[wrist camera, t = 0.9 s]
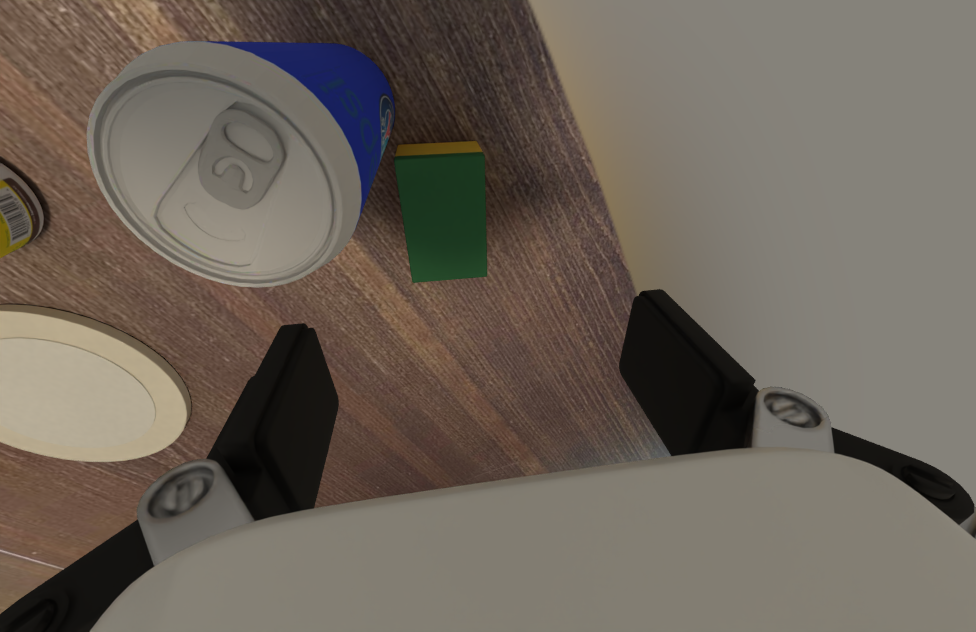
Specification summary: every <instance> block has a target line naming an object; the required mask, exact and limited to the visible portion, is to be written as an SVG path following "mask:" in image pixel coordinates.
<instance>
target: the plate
mask: <svg viewBox="0 0 976 632" xmlns="http://www.w3.org/2000/svg"><path fill="white" fill-rule="evenodd" d="M190 415H191V399H190V395H189V392H188V390H187V387H186V386H185V384H184V382H183V380H182V379H181V377H180V376H179V375H178V373H177V372H176V371H175V370H174V369H173V368H172V367H171V366H170V365H169V364H168V362H167V361H166V360H164V359H163V358H162V357H161V356H160V355H158V354H157V353H156V352H155V351H153V350H152V349H150V348H149V347H147V346H146V345H145V344H143V343H142V342H140V341H138V340H137V339H135V338H133V337H131V336H129V335H128V334H126V333H124V332H122V331H120V330H117V329H115V328H113V327H111V326H109V325H106V324H104V323H101V322H98V321H96V320H93V319H90V318H87V317H84V316H80V315H77V314H74V313H70V312H66V311H61V310H56V309H52V308H45V307H38V306H31V305H15V304H4V305H0V442H2V443H5V444H7V445H10V446H13V447H16V448H19V449H22V450H26V451H29V452H32V453H36V454H41V455H45V456H49V457H55V458H61V459H67V460H76V461H88V462H113V461H124V460H131V459H136V458H140V457H144V456H148V455H150V454H153V453H156V452H158V451H160V450H162V449H164V448H166V447H167V446H169V445H170V444H171V443H173V442H174V441H175V440H176V439H177V438H178V437H179V436H180V434H181V433H182V431H183V430H184V428H185V426H186V425H187V423H188V421H189V418H190Z"/></svg>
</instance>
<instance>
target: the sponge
mask: <svg viewBox="0 0 976 632" xmlns="http://www.w3.org/2000/svg"><path fill="white" fill-rule="evenodd" d="M394 165H395V171H396V178H397V184H398V191H399V197H400V204H401V211H402V217H403V224H404V230H405V237H406V243H407V250H408V256H409V263H410V270H411V276H412V282H413V283H416V282H428V281H440V280H452V279H464V278H476V277H486V276H487V241H486V195H485V156H484V154H483V152H482V150H481V148H480V146H479V145H478V143H477V141H466V142H445V143H424V144H403V145H398V146H397V150H396V154H395V159H394Z"/></svg>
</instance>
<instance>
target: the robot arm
mask: <svg viewBox="0 0 976 632" xmlns="http://www.w3.org/2000/svg"><path fill="white" fill-rule="evenodd" d="M619 369H620V373H621V375H622V377H623V379H624V380H625V382H626V383H627V385H628V387H629V388H630V390H631V391H632V393H633V395H634V396H635V398H636V400H637V401H638V403H639V404H640V406H641V408H642V409H643V411H644V412H645V414H646V416H647V417H648V419H649V420H650V422H651V424H652V425H653V427H654V428H655V430H656V432H657V433H658V435H659V437H660V438H661V440H662V441H663V443H664V445H665V446H666V448H667V449H668V451H669V453H670V454H671V456H670V457H663V458H656V459H648V460H641V461H634V462H626V463H619V464H612V465H604V466H597V467H590V468H582V469H575V470H568V471H561V472H554V473H547V474H540V475H533V476H526V477H519V478H512V479H505V480H498V481H491V482H484V483H477V484H470V485H463V486H456V487H450V488H443V489H436V490H429V491H422V492H416V493H409V494H402V495H395V496H388V497H382V498H375V499H369V500H362V501H356V502H350V503H344V504H338V505H332V506H326V507H320V508H314V506H315V502H316V498H317V494H318V490H319V485H320V481H321V477H322V473H323V469H324V465H325V461H326V457H327V453H328V448H329V444H330V440H331V436H332V432H333V428H334V424H335V420H336V416H337V411H338V406H339V401H338V395H337V392H336V390H335V387H334V384H333V381H332V378H331V375H330V372H329V369H328V366H327V363H326V361H325V358H324V355H323V352H322V349H321V346H320V343H319V340H318V337H317V334H316V332H315V330H314V328H308V327H307V325H306V324H304V323H302V324H292V325H283V326H281V327H280V329H279V331H278V333H277V335H276V337H275V338H274V340H273V342H272V344H271V346H270V348H269V350H268V352H267V354H266V355H265V357H264V359H263V361H262V363H261V365H260V367H259V369H258V371H257V372H256V374H255V376H253V377H251V378H250V380H249V381H248V383H247V384H246V386H245V388H244V390H243V392H242V394H241V395H240V397H239V399H238V401H237V403H236V405H235V407H234V408H233V410H232V412H231V414H230V416H229V418H228V420H227V421H226V423H225V425H224V427H223V429H222V431H221V432H220V434H219V436H218V438H217V440H216V442H215V444H214V445H213V447H212V449H211V451H210V453H209V455H208V456H207V458H206V459H196V460H192V461H189V462H185V463H183V464H181V465H179V466H177V467H174V468H172V469H171V470H169V471H168V472H166V473H165V474H163V475H162V476H160V477H159V478H158V479H157V480H156V481H155V482H154V483H153V484H152V485H150V486H149V487H148V489H147V490H146V492H145V493H144V494H143V496H142V497H141V499H140V501H139V504H138V507H137V518H138V520H136V521H135V522H133V523H132V524H131V525H129V526H128V527H126V528H125V529H123V530H122V531H120V532H119V533H117V534H116V535H114V536H113V537H111V538H110V539H108V540H107V541H105V542H104V543H102V544H101V545H99V546H98V547H96V548H95V549H93V550H92V551H90V552H89V553H87V554H86V555H84V556H83V557H82V558H80V559H79V560H77V561H76V562H74V563H73V564H71V565H70V566H68V567H67V568H65V569H64V570H62V571H61V572H59V573H58V574H56V575H55V576H53V577H52V578H50V579H49V580H47V581H46V582H44V583H43V584H41V585H40V586H38V587H37V588H36V589H34V590H33V591H31V592H30V593H28V594H27V595H25V596H24V597H22V598H21V599H19V600H18V601H17V602H15V603H14V604H13V605H11V606H10V607H9V608H8V609H6V610H5V611H4V612H2V613H1V614H0V632H976V507H974V503H973V501H972V499H971V497H970V496H969V494H968V493H967V492H966V491H965V490H964V489H963V488H962V486H961V485H960V484H958V483H957V482H956V481H955V480H953V479H952V478H951V477H950V476H948V475H947V474H945V473H943V472H942V471H940V470H939V469H937V468H935V467H933V466H931V465H929V464H927V463H924V462H922V461H920V460H917V459H915V458H912V457H909V456H907V455H904V454H901V453H899V452H896V451H893V450H891V449H888V448H885V447H883V446H880V445H877V444H875V443H872V442H869V441H867V440H864V439H861V438H859V437H856V436H853V435H851V434H848V433H845V432H843V431H840V430H837V429H834V428H832V427H831V422H830V419H829V416H828V414H827V413H826V412H825V410H824V409H823V408H822V407H821V406H820V405H819V404H817V403H816V402H815V401H814V400H812V399H811V398H809V397H807V396H805V395H803V394H801V393H799V392H796V391H793V390H790V389H786V388H782V387H768V388H763V389H762V390H760V391H759V390H758V389H757V388H756V387H755V386H754V383H755V379H754V378H753V377H752V376H751V375H749V373H748V372H747V371H746V370H745V369H744V368H743V367H742V366H740V365H739V364H738V363H737V362H736V361H735V360H734V359H733V358H732V357H731V356H730V355H729V354H728V353H727V352H726V351H725V350H724V349H723V348H722V347H721V346H720V345H719V344H718V343H717V342H716V341H715V340H714V339H713V338H712V337H711V336H710V335H708V333H707V332H706V331H705V330H704V329H703V328H701V327H700V326H699V325H698V324H697V323H696V322H695V321H694V320H693V319H692V318H691V317H690V316H689V315H688V314H687V313H686V312H685V311H684V310H683V309H682V308H681V307H680V306H678V304H677V303H676V302H675V301H674V300H673V299H672V298H671V297H670V296H669V295H668V294H667V293H666V292H665V291H663V290H660V289H659V290H648V291H642V292H640V294H639V296H636V297H635V298H634V300H633V304H632V309H631V313H630V318H629V322H628V327H627V331H626V336H625V340H624V345H623V349H622V354H621V358H620V363H619Z"/></svg>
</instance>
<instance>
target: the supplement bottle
mask: <svg viewBox="0 0 976 632" xmlns="http://www.w3.org/2000/svg"><path fill="white" fill-rule="evenodd" d="M43 223H44V216H43V211H42V208H41V205H40V203H39V201H38V199H37V197H36V196H35V194H34V193H33V191H32V190H31V189H30V188H29V186H28V185H27V184H26V183H25V182H24V181H23V180H22V179H21V178H20V177H19V176H18V175H16V174H15V173H14V172H13V171H11V170H10V169H9V168H7V167H6V166H4V165H3V164H1V163H0V258H1V257H3V256H5V255H7V254H9V253H11V252H13V251H15V250H17V249H19V248H21V247H23V246H25V245H26V244H28V243H30V242H31V241H33V240H34V239H35V238H36V237H37V236H38V235H39V233H40V232H41V230H42V227H43Z"/></svg>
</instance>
